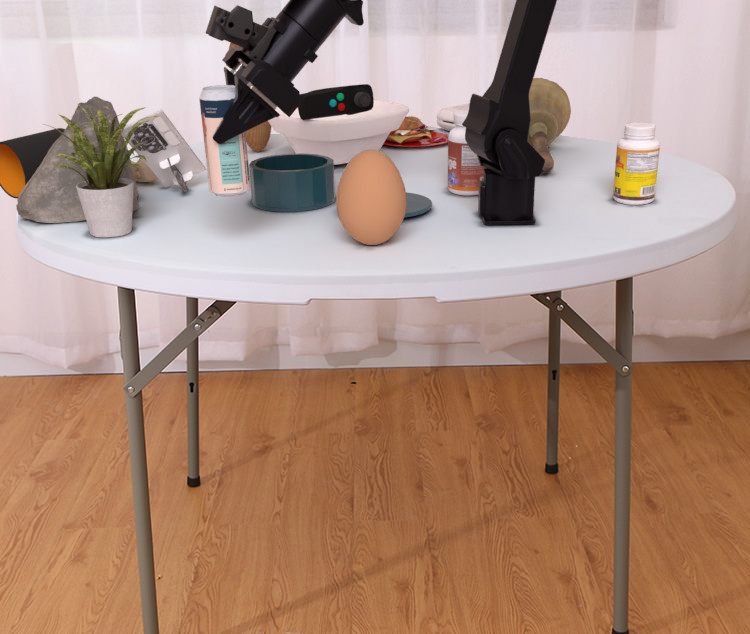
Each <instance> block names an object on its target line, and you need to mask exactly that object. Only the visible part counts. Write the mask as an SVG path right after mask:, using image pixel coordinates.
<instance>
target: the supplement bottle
mask: <svg viewBox="0 0 750 634" xmlns="http://www.w3.org/2000/svg"><path fill="white" fill-rule="evenodd" d="M655 137H656V124H654V123H651V122H640V121H639V122H638V121H637V122H628V123H625V124H624V130H623V137H622V138H620V139H618V140H617V144H616V153H615V167H614V177H613V178H614V180H613V191H612V193H613V194H612V197H613V199H614V201H615V202H616V203H617V202H618V203H619V204H622V205H630V206H641V205H642V206H643V205H647V204H648V205H649V204H650V203H652V202H653V201H654V200H655V199H656V198H655V197H656V191H657V179H658V170H659V160H660V159H659V158H660V149H661V143H660V141H659V140H658V139H657V138H655Z"/></svg>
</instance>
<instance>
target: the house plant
mask: <svg viewBox="0 0 750 634" xmlns="http://www.w3.org/2000/svg"><path fill="white" fill-rule="evenodd" d="M79 106H80V105H79ZM80 107H81V106H80ZM81 108H82V107H81ZM88 108H89V107H88ZM146 108H147V106H146V107H139V108H136V109H133V110H131V111H130V112H128V113H126V115H124V117H123V118H122V120H120V121H119V125H118V126H117V128H116V130H115V131H114V127H115V121H116V118H117V117H119V116H121V115H123V113H120V114H117V116H116V117H115V118H114V119H113V120H112V124H111V129H110V137H109V130H108V122H107V119H106V117H105V116H104V115H103V113H102V112H101V111H100V110H99V109H98V110H97V116H98V121H99V130H98V126H97V123H96V120H95V117H94V115H93V113H92V111H91V110H90V111H91V113H92V115H93V117H94V119H93V118H92V116H91V115H90V114H89V113H88V112H87V111H86V110H85V109H84V108H82V109H83V111H84V112H85V113H86V114H87V115H88V117H89V118H90V120H91V123H92V125H93V128H94V131H95V134H96V137H97V141H98V145H99V149H100V153H101V154H100V153H98V152H96V148H95V146H94V144H93V143H92V142H90V143H89V141H88V139H87V137H86V135H85V134H84V132H83V131H82V130H81V128H80V127H79V126H77V125H76V124H75V123H74V122H72V121H71V118H68V117H67V116H65V115H61V114H58V116H59V117H60V118H61V119H62V120H63V121H64V122H66V124H67V126H68V125H69V127H70V128H71V130H72V131H73V133H74V134H75V135H74V140H73V141H72V140H71V139H70V138H69V137H67V136H66V135H65V134H64V133H62V132H61V131H59V130H58V129H57V128H56V127H55V126H54V127H53V126H51V125H48V124H45V123H43V125H45V126H48V127H50V128H52V129H56V130H58V131H59V132H60V133H61V134H63V135H64V136H65V137H67V138H68V139H69V140H70V141H71V142H72V143H73V147H74V149H75V151H76V153H72V155H73V156H74V157H73V156H70V155H66V154H57V153H54V154H55V155H57V156H61V157H63V158H65V159H67V160H69V161H71V162H73V163H76V164H77V165H79V166H80V167H81V168H82V169H84V170H85V171H86V174H87V178H88V180H86V179H85V178H84V177H83V176H82V174H81V173H80V172H78V171H77V170H75V169H74V168H72V167H70V166H67V165H60V166H58V167H56V168H67V169H71V170H73V171H75V172H77V173H78V174H80V175H81V176H82V177H83V178H84V179H85V181H83V182H80V183H78V184H77V185H76V189H77V192H78V195H79V198H80V202H81V205H82V208H83V211H84V215H85V218H86V220H85V221H86V224H87V227H88V230H89V234H90V235H91V236H92V237H96V238H115V237H122V236H125V235H128V234H130V233H132V231H133V212H134V211H133V190H134V182H133V181H132V180H130V179H126V178H120V175H121V173H122V171H123V169H124V168H126V167H139V168H142V167H141V166H140V165H138V164H128V165H126V166H125V164H126V162H127V161H128V160H132V159H134V158H138V159H139V158H142V159H144V160H146V158H145V157H144V156H142V155H138V154H137V155H135V153H134V152H135V150H136V148H137V147H138V146H139V145H141V144H144V143H140V144H137V145H135V146H134V147H131V148H130V149H128V150H127V151H128V153H127V154H126V155H125V157H124V159H123V161H122V163H121V165H120V162H121V160H122V157H123V155H124V152H126V151H125V149H126V146H127V147H128V144H129V143H128V142H129V140H130V138H131V136H132V135H133V133H134V131H135V130H136V129H137V128H138V127H139V126H140V125H141V124H142V123H144V122H147V121H142V122H140V121H141V120H143V119H146V118H151V117H158V116H149V117H145V116H144V117H145V118H143V117H142V118H143V119H141V118H140V119H141V120H139V119H138V120H139V121H138V122H139V123H138V122H137V123H135V124H136V125H135V124H134V125H135V126H134V127H132V128H131V131H129V132H128V133H129V134H127V135H128V136H126V137H125V139H126V140H125V139H124V140H125V143H124V145H123V148H122V150H120V148H121V147H120V148H119V150H118V151H116V149H117V145H118V142H119V138H120V136H121V134H122V132H123V130H124V127H125V126H126V125H128V124H129V121H130V120H131V119H132V118H133V116H135V114H136V113H137V112H139V111H141V110H144V109H146ZM89 109H90V108H89ZM94 120H95V121H94ZM123 142H124V141H123ZM145 143H146V142H145ZM122 144H123V143H122ZM121 146H122V145H121ZM82 148H83V150H84V151H85V152H86V153H85V152H84V151H83V150H82ZM76 154H77V155H78V157H79V158H80V159H79V158H76V157H75V155H76ZM132 155H133V157H131V156H132ZM129 157H130V159H129ZM90 161H91V162H90ZM117 161H118V162H117ZM146 162H147V161H146ZM116 163H117V164H116ZM119 166H120V168H119ZM115 167H116V168H115ZM56 168H55V169H56ZM118 169H119V170H118ZM142 169H143V168H142ZM114 170H115V171H114ZM143 170H144V169H143ZM113 174H114V175H113Z"/></svg>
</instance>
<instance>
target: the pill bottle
mask: <svg viewBox="0 0 750 634" xmlns="http://www.w3.org/2000/svg"><path fill="white" fill-rule="evenodd" d="M468 111H469V110H462V111H457V112H455V113H454V120H453V121H454V124H455V125H456V126H455V128H453V129H452V130H451V131H448V132H449V133H448V142H447V190H448V191H449V192H450V193H452V194H455V195H458V196H465V197H466V196H468V197H469V196H479V182H480V181H483V180H484V169H487V168H486V167H482V166H481V165H480V163H479V160H478V157H477V154H475V153H474V152H473V151H472V150H471V149H470V148H469V146H468V144H467V142H466V140H465V131H466V127H465V126H463V125H462V123H463V122H464V120H465V119H466V117H467V115H468Z"/></svg>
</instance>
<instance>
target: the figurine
mask: <svg viewBox="0 0 750 634" xmlns="http://www.w3.org/2000/svg"><path fill="white" fill-rule="evenodd" d="M231 48H240V46H238V45H235V44H233V43H231V42H229V47H228V50H227V51H226V53H225V54H224V55H225V56H226V54H227V53H228V52H229V51H230V49H231ZM242 48H243V47H242ZM225 56H224V57H225ZM225 67H227V68H228V69H230V70H231V68H230V67H229V66H228V65H227V64H226V63H225ZM245 133H246V144H247V147H249V148H250V149H251V150H252V151H254V152H256V153H260V152H262V151H264V150H265V149H266V148H267V146H268V143H269V141H270V138H271V133H272V126H271V125H270V123H269V122H268V121H266V122H264V123H262V124H260V125H258V126H256V127H254V128H252V129H250V130H247V131H246V132H245Z"/></svg>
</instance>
